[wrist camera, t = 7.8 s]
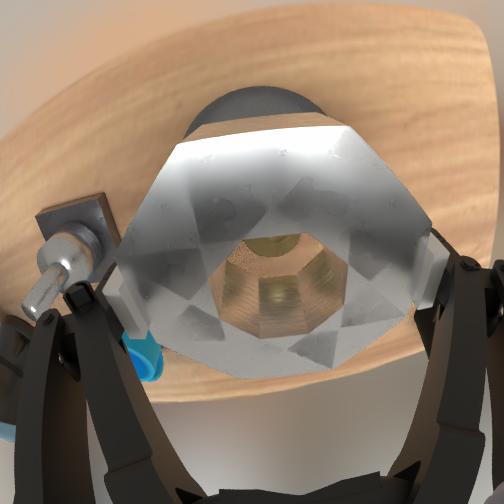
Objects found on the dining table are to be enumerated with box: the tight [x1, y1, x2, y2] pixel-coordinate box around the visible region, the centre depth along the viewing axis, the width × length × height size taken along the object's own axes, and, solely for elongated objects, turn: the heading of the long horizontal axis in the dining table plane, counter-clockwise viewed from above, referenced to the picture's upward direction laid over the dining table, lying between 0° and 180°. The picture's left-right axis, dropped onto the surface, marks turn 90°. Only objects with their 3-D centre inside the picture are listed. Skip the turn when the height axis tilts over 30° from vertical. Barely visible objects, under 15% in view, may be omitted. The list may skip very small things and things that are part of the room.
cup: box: [414, 297, 440, 359], centre depth 30 cm, size 8×8×12 cm
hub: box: [183, 86, 328, 257], centre depth 19 cm, size 14×14×12 cm
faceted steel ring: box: [114, 112, 432, 379], centre depth 12 cm, size 11×11×4 cm
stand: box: [22, 193, 121, 322], centre depth 23 cm, size 10×10×12 cm
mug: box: [122, 329, 163, 382], centre depth 32 cm, size 12×8×8 cm
